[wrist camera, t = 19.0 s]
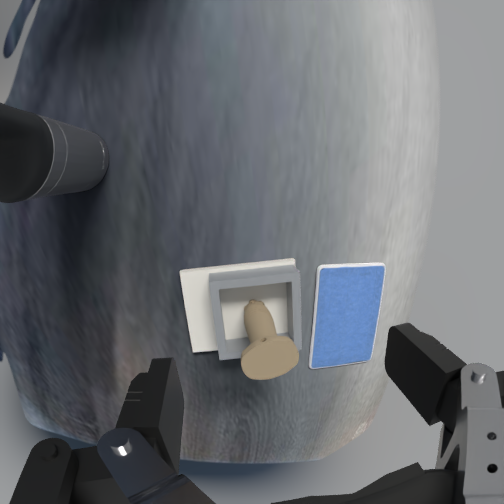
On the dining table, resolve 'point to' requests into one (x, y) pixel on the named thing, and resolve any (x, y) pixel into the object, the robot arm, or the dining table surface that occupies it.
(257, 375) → the handle
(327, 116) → the dining table surface
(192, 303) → the open box
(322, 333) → the tablet computer
